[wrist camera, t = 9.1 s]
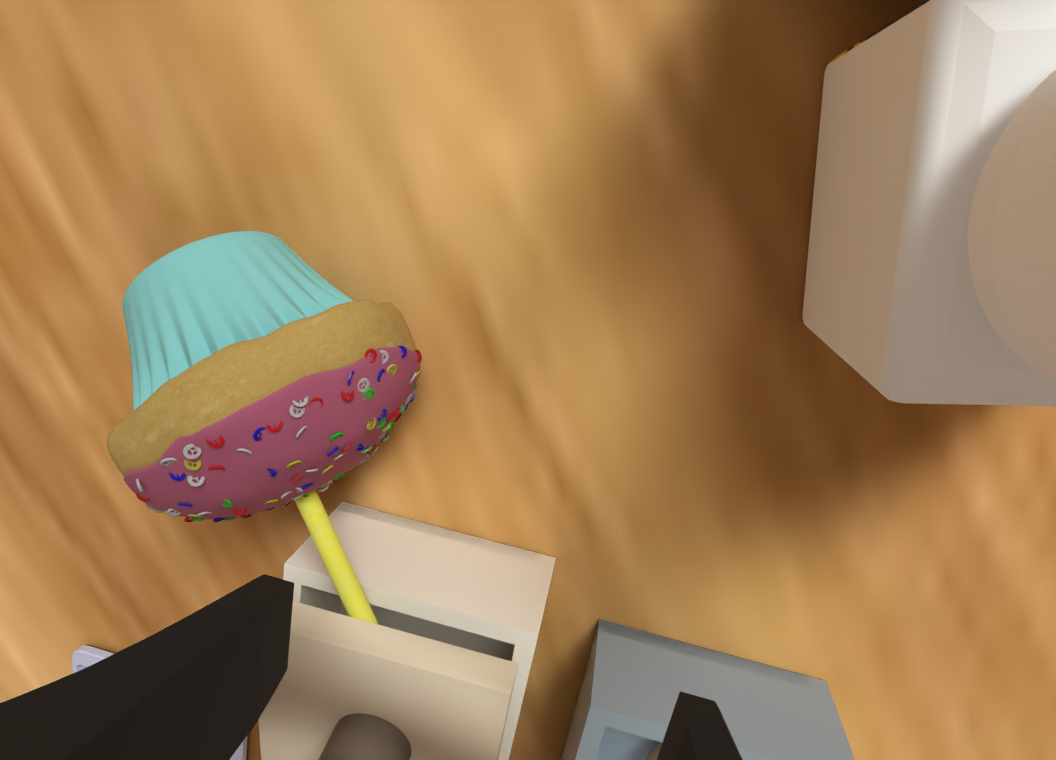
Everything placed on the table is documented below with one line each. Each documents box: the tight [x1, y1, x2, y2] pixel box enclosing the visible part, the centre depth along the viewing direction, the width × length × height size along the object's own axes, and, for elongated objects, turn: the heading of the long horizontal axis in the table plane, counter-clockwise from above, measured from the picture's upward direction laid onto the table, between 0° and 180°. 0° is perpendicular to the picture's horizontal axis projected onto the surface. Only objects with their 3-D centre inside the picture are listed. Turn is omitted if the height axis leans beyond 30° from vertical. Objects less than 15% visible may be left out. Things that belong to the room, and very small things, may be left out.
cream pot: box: [283, 501, 556, 760], centre depth 22 cm, size 8×8×4 cm
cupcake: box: [107, 231, 422, 624], centre depth 18 cm, size 9×8×12 cm
